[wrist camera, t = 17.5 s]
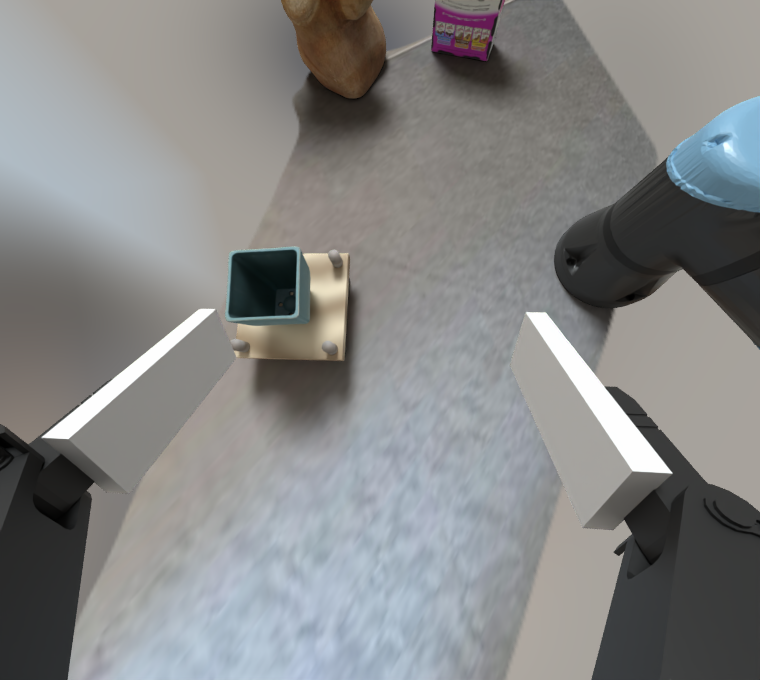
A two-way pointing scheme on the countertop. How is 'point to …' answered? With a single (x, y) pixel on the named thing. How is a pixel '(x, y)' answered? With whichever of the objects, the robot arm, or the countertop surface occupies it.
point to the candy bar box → (466, 27)
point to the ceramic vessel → (339, 42)
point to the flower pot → (268, 287)
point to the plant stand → (323, 329)
